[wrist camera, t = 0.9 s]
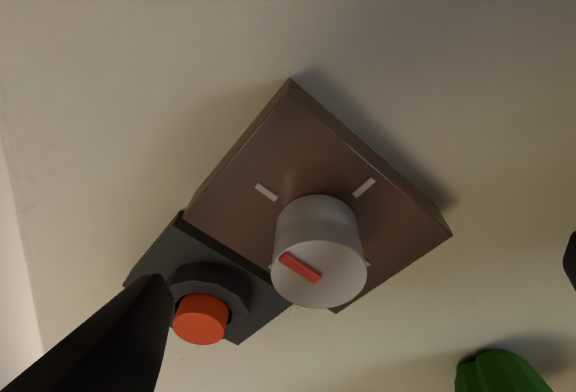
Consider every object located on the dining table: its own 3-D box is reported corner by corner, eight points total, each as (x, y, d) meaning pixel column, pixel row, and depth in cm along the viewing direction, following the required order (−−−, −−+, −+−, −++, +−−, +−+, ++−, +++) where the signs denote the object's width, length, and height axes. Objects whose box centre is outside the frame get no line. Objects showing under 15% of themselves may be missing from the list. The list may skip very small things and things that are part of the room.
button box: (298, 284, 27) (296, 321, 24) (241, 328, 31) (234, 365, 28) (180, 210, 24) (162, 242, 21) (131, 270, 27) (109, 305, 24)
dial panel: (437, 207, 22) (455, 237, 20) (333, 283, 27) (336, 316, 24) (289, 76, 18) (286, 93, 16) (195, 192, 23) (180, 220, 20)
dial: (374, 225, 20) (389, 280, 16) (318, 268, 22) (321, 325, 18) (313, 178, 18) (315, 227, 15) (260, 229, 20) (250, 283, 17)
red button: (238, 308, 24) (234, 329, 23) (212, 330, 26) (206, 351, 24) (196, 284, 23) (189, 305, 22) (171, 309, 25) (162, 330, 23)
